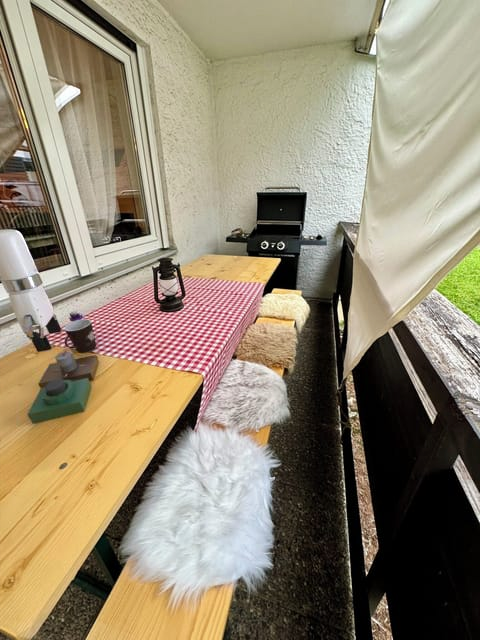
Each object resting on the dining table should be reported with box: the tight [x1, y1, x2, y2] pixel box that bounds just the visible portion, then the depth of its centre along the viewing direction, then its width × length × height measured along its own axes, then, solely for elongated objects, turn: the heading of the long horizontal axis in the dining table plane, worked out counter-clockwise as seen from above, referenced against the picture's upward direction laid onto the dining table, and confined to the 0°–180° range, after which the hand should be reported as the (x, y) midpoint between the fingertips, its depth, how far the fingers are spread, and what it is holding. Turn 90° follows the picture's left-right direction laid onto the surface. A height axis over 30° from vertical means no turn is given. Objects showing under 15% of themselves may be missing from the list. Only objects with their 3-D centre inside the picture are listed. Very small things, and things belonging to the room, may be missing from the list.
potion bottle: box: [68, 310, 84, 330], centre depth 99 cm, size 9×9×12 cm
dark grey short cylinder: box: [45, 379, 67, 396], centre depth 69 cm, size 4×4×2 cm
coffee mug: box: [63, 318, 97, 354], centre depth 93 cm, size 12×9×10 cm
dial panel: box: [38, 354, 100, 389], centre depth 82 cm, size 14×10×3 cm
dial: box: [54, 349, 77, 373], centre depth 80 cm, size 4×4×5 cm
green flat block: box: [27, 378, 93, 425], centre depth 70 cm, size 12×10×6 cm
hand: (50, 340), depth 72 cm, fingers open, 9 cm apart
